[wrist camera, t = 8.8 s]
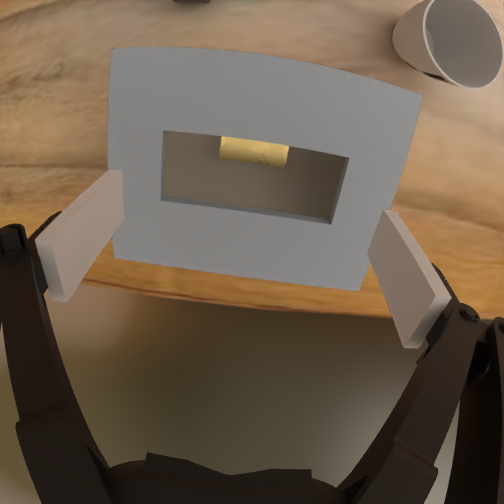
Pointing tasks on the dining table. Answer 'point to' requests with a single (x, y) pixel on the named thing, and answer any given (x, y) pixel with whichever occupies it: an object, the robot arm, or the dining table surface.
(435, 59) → the cup
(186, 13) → the dining table surface
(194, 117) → the box
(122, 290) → the dining table surface
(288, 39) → the dining table surface
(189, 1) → the block
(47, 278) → the robot arm
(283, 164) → the yellow wooden brick
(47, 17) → the dining table surface
